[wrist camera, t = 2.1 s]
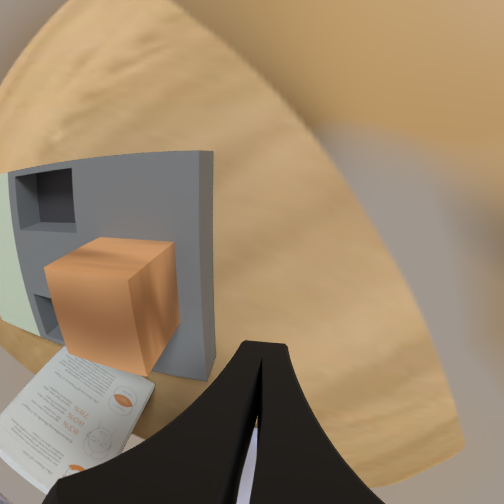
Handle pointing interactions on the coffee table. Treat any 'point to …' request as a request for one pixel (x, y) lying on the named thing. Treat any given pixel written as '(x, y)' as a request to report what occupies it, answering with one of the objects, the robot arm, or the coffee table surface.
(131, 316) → the orange block
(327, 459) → the robot arm
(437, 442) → the coffee table surface
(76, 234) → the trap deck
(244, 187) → the coffee table surface
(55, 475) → the small box
